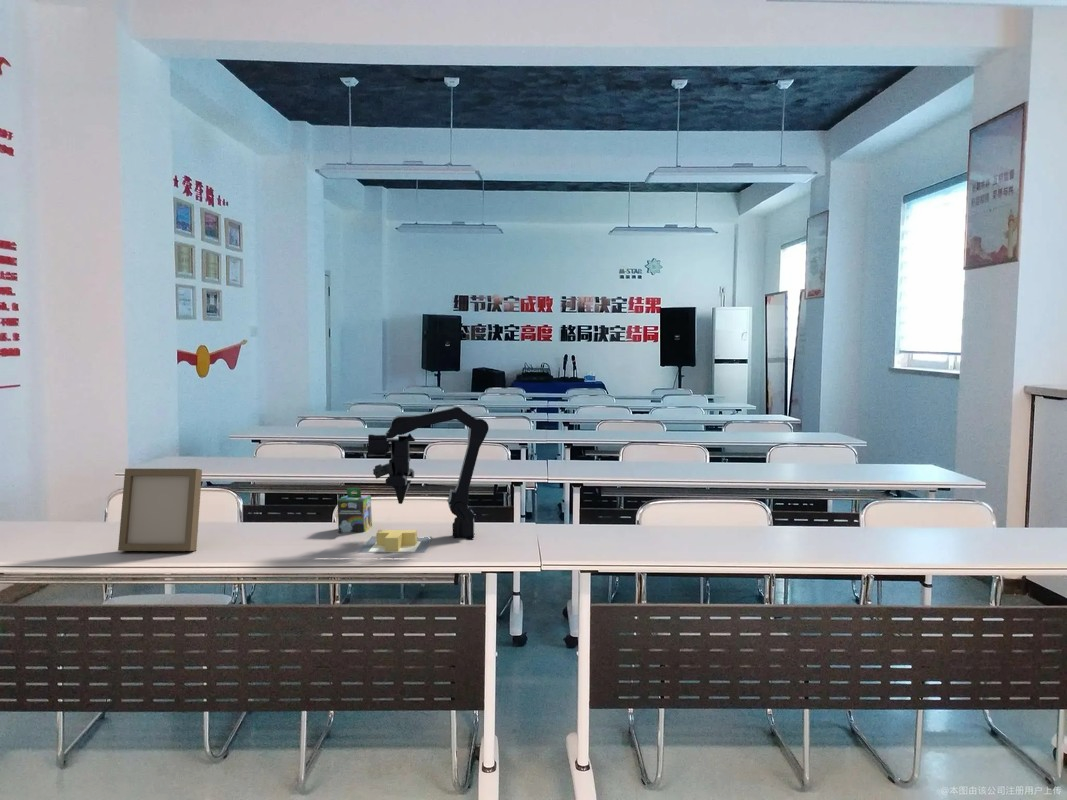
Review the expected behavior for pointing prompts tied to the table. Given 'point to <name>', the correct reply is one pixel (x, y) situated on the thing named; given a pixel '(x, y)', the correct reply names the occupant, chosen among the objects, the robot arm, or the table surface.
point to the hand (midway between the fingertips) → (400, 503)
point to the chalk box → (354, 512)
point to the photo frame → (160, 510)
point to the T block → (396, 539)
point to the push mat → (418, 548)
